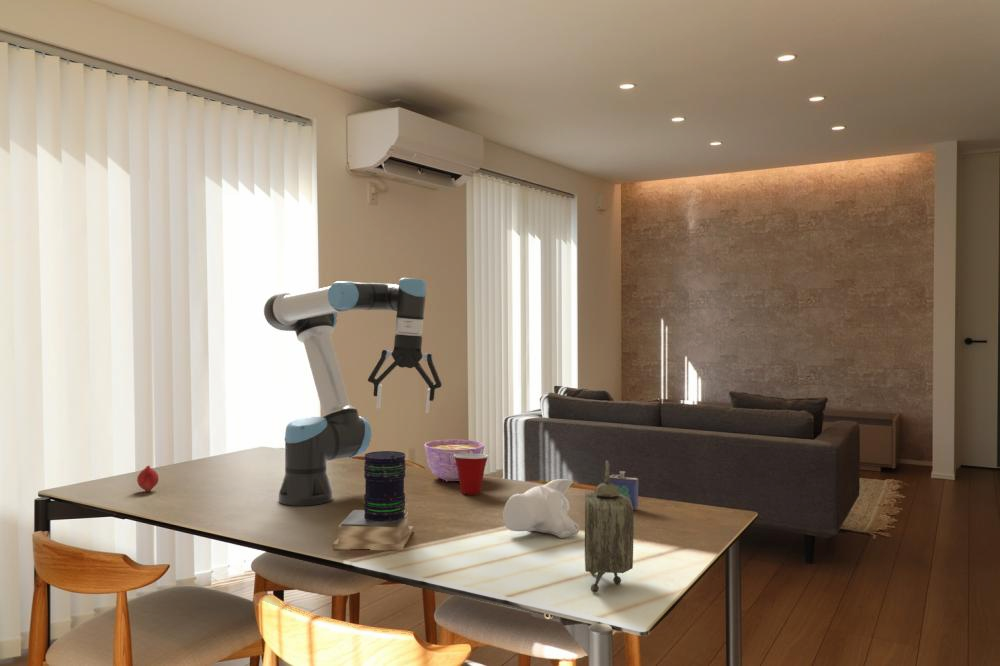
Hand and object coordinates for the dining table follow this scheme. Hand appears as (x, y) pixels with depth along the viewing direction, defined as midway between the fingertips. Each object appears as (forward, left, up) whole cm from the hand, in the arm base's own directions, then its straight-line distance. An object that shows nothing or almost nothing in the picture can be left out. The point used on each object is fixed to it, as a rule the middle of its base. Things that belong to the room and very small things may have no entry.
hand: (402, 410), depth 209 cm
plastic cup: (+17, +21, -28) cm, 39 cm away
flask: (+61, +6, -28) cm, 68 cm away
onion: (-80, +14, -28) cm, 85 cm away
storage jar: (+1, -28, -22) cm, 36 cm away
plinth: (-2, -29, -28) cm, 40 cm away
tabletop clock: (+51, -55, -28) cm, 80 cm away
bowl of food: (+10, +40, -28) cm, 50 cm away
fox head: (+41, -19, -28) cm, 53 cm away
